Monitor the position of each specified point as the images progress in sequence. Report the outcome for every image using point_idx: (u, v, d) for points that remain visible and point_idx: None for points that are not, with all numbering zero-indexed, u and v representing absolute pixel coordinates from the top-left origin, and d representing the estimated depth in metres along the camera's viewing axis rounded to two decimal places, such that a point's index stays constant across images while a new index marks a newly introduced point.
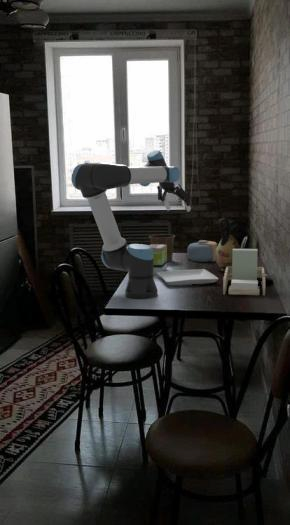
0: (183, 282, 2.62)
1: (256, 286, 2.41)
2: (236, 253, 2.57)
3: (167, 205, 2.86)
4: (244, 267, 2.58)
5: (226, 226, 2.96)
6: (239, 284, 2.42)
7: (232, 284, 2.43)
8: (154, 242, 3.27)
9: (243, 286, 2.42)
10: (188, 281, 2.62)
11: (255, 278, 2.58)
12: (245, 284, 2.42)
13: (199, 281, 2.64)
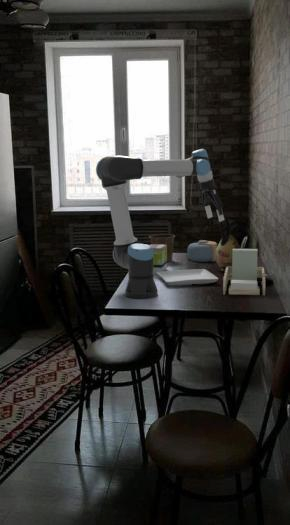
0: (183, 282, 2.62)
1: (256, 286, 2.41)
2: (236, 253, 2.57)
3: (208, 212, 2.79)
4: (244, 267, 2.58)
5: (226, 226, 2.96)
6: (239, 284, 2.42)
7: (232, 284, 2.43)
8: (154, 242, 3.27)
9: (243, 286, 2.42)
10: (188, 281, 2.62)
11: (255, 278, 2.58)
12: (245, 284, 2.42)
13: (199, 281, 2.64)
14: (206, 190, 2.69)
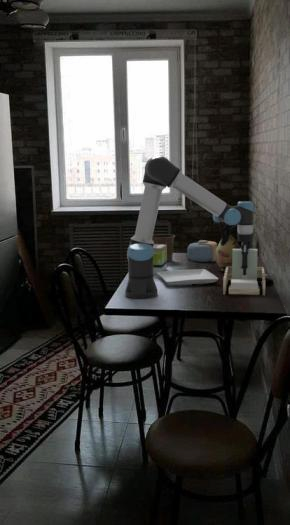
0: (183, 282, 2.62)
1: (256, 285, 2.42)
2: (236, 253, 2.57)
3: None
4: None
5: (226, 226, 2.96)
6: (239, 284, 2.43)
7: (232, 284, 2.44)
8: (154, 242, 3.27)
9: (244, 286, 2.43)
10: (188, 281, 2.62)
11: (255, 278, 2.58)
12: (245, 284, 2.43)
13: (199, 281, 2.64)
14: None
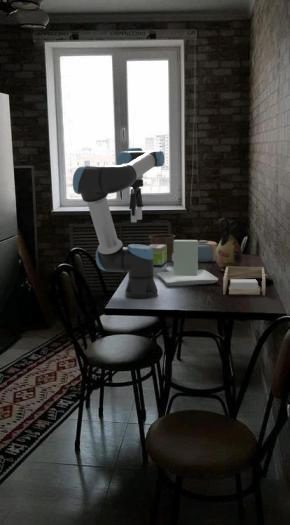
0: (183, 283, 2.62)
1: (256, 285, 2.43)
2: (176, 244, 2.71)
3: (138, 214, 2.77)
4: (185, 257, 2.71)
5: (226, 226, 2.96)
6: (239, 284, 2.43)
7: (232, 284, 2.43)
8: (154, 242, 3.27)
9: (244, 285, 2.43)
10: (188, 282, 2.62)
11: (195, 268, 2.71)
12: (245, 283, 2.43)
13: (199, 282, 2.64)
14: None
